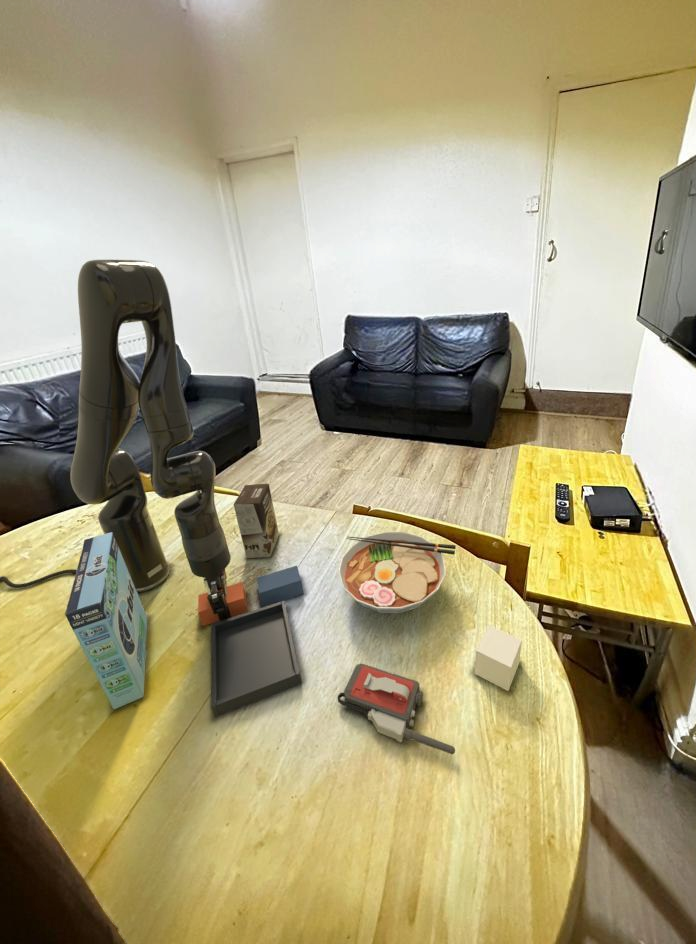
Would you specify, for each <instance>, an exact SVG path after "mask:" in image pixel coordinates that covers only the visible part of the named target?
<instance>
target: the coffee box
mask: <svg viewBox="0 0 696 944" xmlns="http://www.w3.org/2000/svg"><path fill="white" fill-rule="evenodd" d="M272 497H273V496H272V492H271V488H270V483H257V484H256V483H255V484H245V485H244V486H243V488H242V490H241V491H240V492H239V494H238V496H237V498H236V499H235V501H234V503H233V508H234V512H235V513H234V514H235V516H236V520H237V524H238V529H239V533H240V537H241V541H242V546H243V549H244V553H245V557H246V559H251V558H256V559H257V558H271V556H272V553H273V551H274V548H275V546H276V543H277V541H278V539H279V536H280V531H279V527H278V523H277V517H276V513H275V508H274V502H273V498H272Z"/></svg>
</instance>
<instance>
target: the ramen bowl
mask: <svg viewBox="0 0 696 944" xmlns="http://www.w3.org/2000/svg"><path fill="white" fill-rule="evenodd" d="M345 539H346V540H351V541H357V542H355V543H353V544H352V545H351V546H349V548H348V549H347V551H346V552H345V553H344V554H343V555H342V557H341V560H340V563H339V568H338V572H337V573H338V577H339V580H340V584H341V587H342V589H343V590H344V591H345V592H346V593H347V594H348V595H349V596H350V597H351V598H352V599H353V600H355V601H356V602H357V603H358V604H359V605H361V606H362V607H364V608H367V609H370V610H372V611H375V612H378V613H380V614H402V613H404V612H407V611H411V610H414V609H417V608H419V607H420V606H421V605H423V604H424V603H426V601H428V600H429V599H430V598H431V597H433V596H434V595H435V594H436V593H437V591H439V589H440V586H441V585H442V582H443V581H444V580H445V579H444V578H445V576H446V574H447V570H446V561H445V560H446V559H445V557H444V556H443V554H446V555H453V556H454V555H455V554H456V549H457V548H456V547H457V546H456V544H446V543H445V544H444V543H434V542H432V541H429V540H428V539H427V538H425V537H423V536H421V535H418V534H415V533H411V532H407V531H381V532H378V533H374V534H370V535H367V536H366V537H359V536H358V537H357V536H347V537H346V538H345Z"/></svg>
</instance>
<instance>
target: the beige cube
mask: <svg viewBox="0 0 696 944" xmlns="http://www.w3.org/2000/svg"><path fill="white" fill-rule="evenodd" d="M522 642H523V639H521V638H519V637H517V636H515V635H512V634H510V633H508V632H506V631H503V630H501V629H499V628H496V627H495V626H492V625H490V624H488V625H487V627H486V630H485V632H484V634H483V635H482V637H481V640H480V642H479V643H478V645H477V647H476V649H475V660H474V661H475V662H474V675H476V676H478V677H480V678H482V679H484V680H486V681H488V682H489V683H492V684H493V685H495V686H497V687H498V688H501V689H503V690H505V691H507V692H510V691H509V690H510V688H511V686H512V683H513V681H514V678H515V676H516V673H517V670H518V667H519V666H520V665H519V664H520V659H521V654H522V653H521V652H522V644H523V643H522Z"/></svg>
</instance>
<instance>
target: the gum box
mask: <svg viewBox="0 0 696 944" xmlns="http://www.w3.org/2000/svg"><path fill="white" fill-rule="evenodd" d="M76 570H77V571H76V573H75V576H74V579H73V583H72V586H71V591H70V595H69V599H68V602H67V605H66V608H65V612H64V615H65V617H66V619H67V621H68V623H69V625H70V628H71V629H72V631H73V633H74V635H75V637H76V639H77V641H78V643H79V644H80V646H81V648H82V650H83V652H84V654H85V657H86V658H87V660H88V662H89V664H90V667H91V668H92V670H93V672H94V674H95V676H96V678H97V680H98V683H99V684H100V686H101V688H102V689H103V692H104V694H105V695H106V698H107V700H108V701H109V704H110V706H111V707H112V709H113V710H114V711H115V710H117V709H119V708H121V707H124V706H126V705H128V704H131V703H133V702H136V701H138V700H140V699H143V698H144V696H145V676H146V654H147V635H148V634H147V633H148V615H147V614H146V611H145V609H144V606H143V604H142V601H141V599H140V597H139V593H138V592H137V591H136V589H135V587H134V584H133V582H132V579H131V577H130V574H129V572H128V569H127V567H126V564H125V562H124V559H123V557H122V555H121V552H120V550H119V547H118V545H117V542H116V540H115V538H114V535H113V532H111V533H107V534H104V533H103V534H100V535H96V536H92V537H89V538H86V539H84V540H83V544H82V549H81V553H80V556H79V560H78V565H77V567H76Z"/></svg>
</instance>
